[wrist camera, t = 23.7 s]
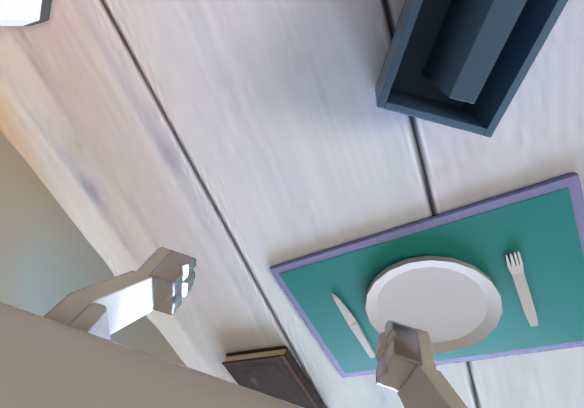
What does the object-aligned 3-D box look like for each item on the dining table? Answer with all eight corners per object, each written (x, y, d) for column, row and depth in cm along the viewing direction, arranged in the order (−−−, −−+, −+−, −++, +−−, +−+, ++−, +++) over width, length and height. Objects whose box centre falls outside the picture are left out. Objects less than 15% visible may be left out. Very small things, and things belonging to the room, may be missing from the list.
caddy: (463, 113, 38) (511, 156, 25) (375, 89, 39) (377, 119, 26) (533, -27, 31) (648, -65, 18) (422, -52, 32) (459, -106, 19)
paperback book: (271, 414, 80) (269, 424, 78) (226, 354, 72) (222, 363, 70) (330, 411, 74) (329, 422, 72) (288, 345, 66) (285, 355, 64)
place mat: (574, 172, 39) (585, 179, 37) (609, 338, 49) (619, 350, 47) (270, 267, 57) (267, 275, 55) (342, 374, 67) (341, 384, 65)
